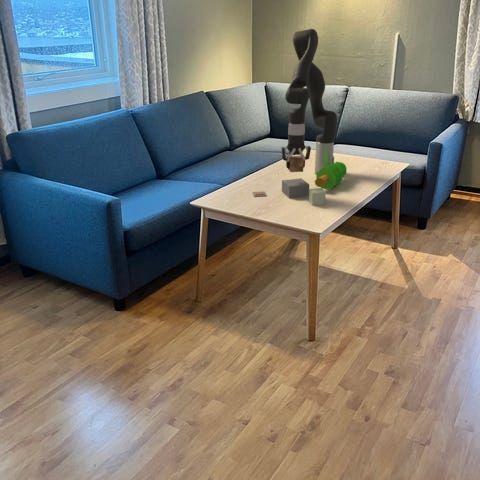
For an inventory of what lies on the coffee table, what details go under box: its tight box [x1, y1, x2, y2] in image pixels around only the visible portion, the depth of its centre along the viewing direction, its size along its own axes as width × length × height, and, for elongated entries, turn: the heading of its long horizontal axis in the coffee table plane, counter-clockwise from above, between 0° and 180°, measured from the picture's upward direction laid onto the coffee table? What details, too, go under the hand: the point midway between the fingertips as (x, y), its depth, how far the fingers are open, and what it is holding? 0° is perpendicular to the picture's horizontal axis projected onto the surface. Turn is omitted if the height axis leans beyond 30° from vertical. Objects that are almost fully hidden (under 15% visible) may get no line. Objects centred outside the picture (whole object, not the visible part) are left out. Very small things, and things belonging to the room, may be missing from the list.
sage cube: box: [308, 187, 327, 206], centre depth 240 cm, size 6×6×6 cm
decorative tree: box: [314, 161, 348, 190], centre depth 263 cm, size 11×12×30 cm
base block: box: [281, 177, 310, 199], centre depth 252 cm, size 10×10×6 cm
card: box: [252, 190, 268, 198], centre depth 253 cm, size 6×6×1 cm
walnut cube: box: [287, 155, 304, 173], centre depth 247 cm, size 6×6×6 cm
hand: (295, 168), depth 248 cm, fingers closed on walnut cube, 6 cm apart
